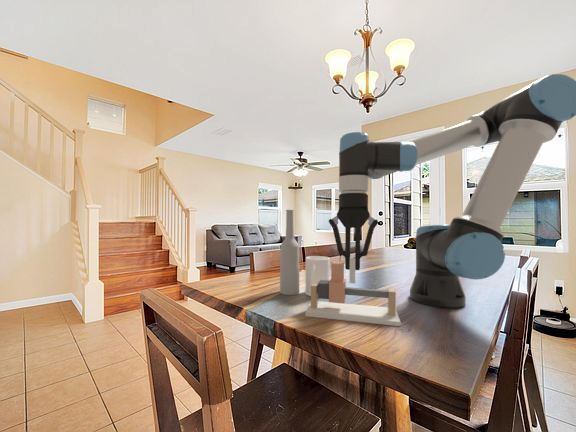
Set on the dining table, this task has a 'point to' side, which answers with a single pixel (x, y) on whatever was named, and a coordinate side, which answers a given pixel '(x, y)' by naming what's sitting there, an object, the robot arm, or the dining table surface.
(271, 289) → the dining table surface
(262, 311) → the dining table surface
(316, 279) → the mug
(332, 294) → the sleeve
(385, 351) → the dining table surface
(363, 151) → the robot arm
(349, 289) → the rail fixture
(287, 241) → the bottle
